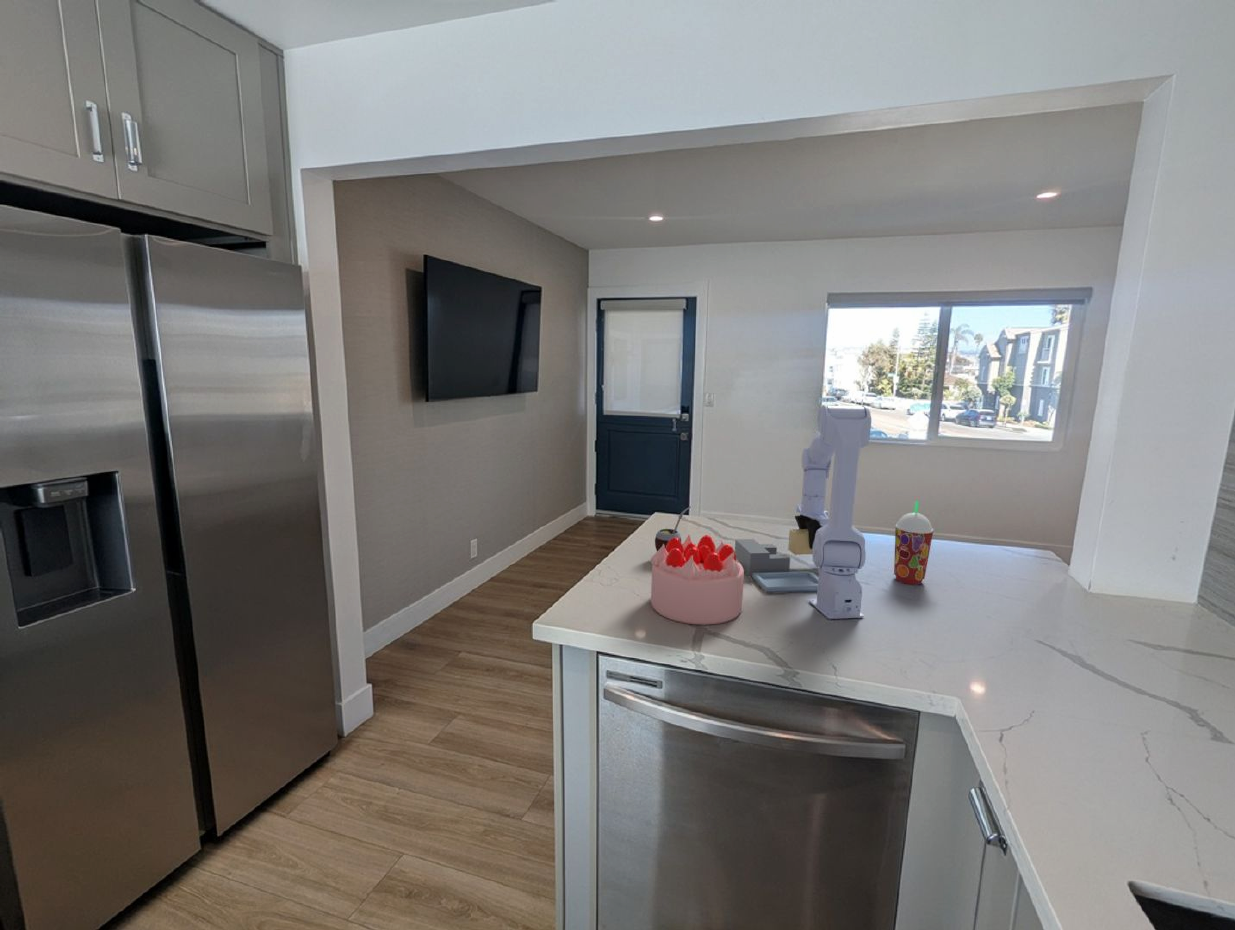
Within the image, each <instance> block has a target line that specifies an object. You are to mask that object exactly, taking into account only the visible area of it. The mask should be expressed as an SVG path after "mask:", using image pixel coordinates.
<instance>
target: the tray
mask: <svg viewBox="0 0 1235 930" xmlns="http://www.w3.org/2000/svg"><path fill="white" fill-rule="evenodd" d="M818 578H819V576H817V575H816V574H815V573H813V571H811V570H810V571H809V570H806V571H805V570H804V571H802V570H801V571H789V572H771V573H753V576H752V580H753V582H755V583H756V584H757V585H758V586H759V587H760V588H761V590H762V591H764V593H765V594H785V593H787V594H788V593H789V594H790V593H811V592H813V593H814V592H815V593H816V592H817V590H818Z"/></svg>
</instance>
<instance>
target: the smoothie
mask: <svg viewBox="0 0 1235 930" xmlns="http://www.w3.org/2000/svg"><path fill="white" fill-rule="evenodd" d="M918 510H919V501H915V503H914V511H913V512H908V513H905V514H904V515H902V516H901V517H900V518H899V519H898V521H897V522H896V524H895V529H894V531H895V533H894V534H895V535H894V536H895V537H894V538H895V539H894V563H893V564H894V567H893V568H894V569H893V574H894V576H895V579H896V581H898V582H899V583H903V584H906V585H911V586H912V585H913V586H915V585H919V584H922V582H923V580H924V579H926V578H925V577H926V572H927V568H928V561H929V557H930V553H931V551H930V550H931V546H932V545H931V544H932V541H933V536H934V534H933V533H934V528H933V527H932V526H933V525H932V523H931V521H930V520H929V518H928V517H926V515H923V514H922V513H919V512H918Z"/></svg>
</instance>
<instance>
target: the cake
mask: <svg viewBox="0 0 1235 930" xmlns="http://www.w3.org/2000/svg"><path fill="white" fill-rule="evenodd" d="M719 541H720V542H721V543H720V544H719V546H717V548H716V544H715V542H714V539H713V538H712V537H711V536H710V535H708V534H705V535H702V536H701V538H700V539H699V541H698V543H697V545H696V544H695V543H693V540H692V539H691V535H690V534H688V535H687V537H686V538H685V540H684V542H683V543H682V540H681V541H680V540H679V539H678V538H676V537H673V538H671V539H670V540H669V542H668V544H667V545H666V548H665V546H664V544H663V546H662V547H661V548H660V549H659V550H658V551H657V550H656V552H655V553H654V555H652V557H650V559H649V560H650V563H651V564H652V565H651V593H650V594H651V596H650V602H651V606H652V608H653V609H654V611H655V612H656V613H658V614H659V615H660V616H662V617H664V618H666V619H669V620H671V621H675V622H678V623H683V624H688V625H700V626H702V625H703V626H712V625H718V624H724V623H728V622H729V621H733V620H734V619H736V618H738V616H739V615H740V614H741V612H742V611H743V610H742V609H743V598H744V584H745V583H744V581H745V580H744V577H745V572H744V569H743V567H742V565H741V564H740V563H739V562H738V560H737V557H736V554H735V548H734V547H733V546H732V545H730V544H726V543H725V542H723V540H721V539H720V540H719Z"/></svg>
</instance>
